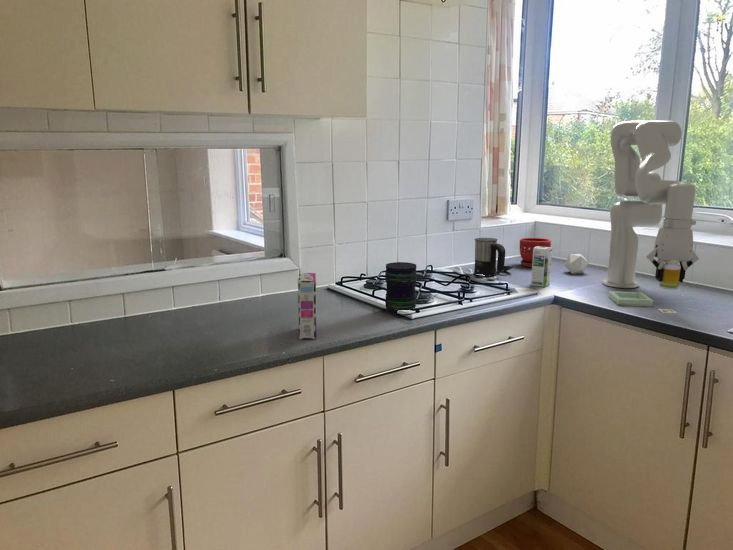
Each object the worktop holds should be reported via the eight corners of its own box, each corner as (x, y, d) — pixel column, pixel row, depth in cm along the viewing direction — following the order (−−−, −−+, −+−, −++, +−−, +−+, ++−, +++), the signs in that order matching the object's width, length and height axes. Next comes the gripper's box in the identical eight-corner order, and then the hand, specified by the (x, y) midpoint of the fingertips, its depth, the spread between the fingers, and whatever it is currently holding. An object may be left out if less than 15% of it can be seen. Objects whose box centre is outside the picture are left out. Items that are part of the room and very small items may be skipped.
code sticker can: (657, 309, 184) (657, 308, 184) (671, 309, 183) (671, 309, 183) (662, 312, 180) (662, 312, 180) (677, 313, 179) (677, 313, 179)
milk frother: (469, 275, 234) (470, 239, 231) (485, 268, 247) (486, 234, 243) (502, 279, 226) (504, 242, 223) (516, 272, 239) (518, 237, 235)
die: (586, 277, 232) (594, 257, 234) (568, 267, 231) (577, 246, 234) (575, 280, 240) (583, 260, 242) (558, 270, 239) (566, 250, 242)
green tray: (608, 296, 199) (608, 291, 199) (641, 297, 198) (642, 292, 197) (617, 305, 189) (618, 299, 188) (652, 306, 187) (653, 300, 187)
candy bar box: (317, 339, 155) (316, 281, 152) (298, 340, 155) (297, 281, 151) (317, 327, 166) (316, 272, 163) (300, 327, 166) (298, 272, 162)
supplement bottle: (680, 290, 178) (684, 259, 175) (661, 289, 179) (665, 259, 176) (675, 285, 183) (679, 256, 180) (656, 285, 184) (660, 255, 181)
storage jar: (418, 315, 178) (419, 268, 175) (386, 315, 177) (387, 268, 174) (413, 306, 188) (414, 261, 185) (383, 307, 187) (383, 262, 184)
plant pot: (555, 266, 250) (557, 239, 247) (534, 270, 244) (535, 242, 241) (533, 261, 261) (535, 235, 258) (512, 264, 255) (513, 238, 252)
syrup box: (530, 285, 216) (532, 247, 213) (535, 282, 221) (537, 245, 218) (545, 287, 213) (548, 249, 210) (550, 284, 218) (552, 246, 215)
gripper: (701, 222, 178) (693, 278, 183) (643, 221, 180) (636, 277, 185) (712, 226, 171) (703, 285, 176) (651, 225, 173) (644, 283, 178)
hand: (669, 280), depth 180 cm, fingers closed on supplement bottle, 5 cm apart
